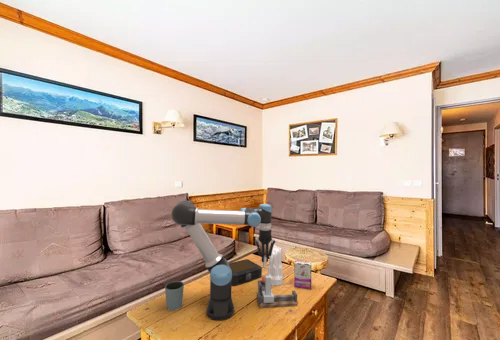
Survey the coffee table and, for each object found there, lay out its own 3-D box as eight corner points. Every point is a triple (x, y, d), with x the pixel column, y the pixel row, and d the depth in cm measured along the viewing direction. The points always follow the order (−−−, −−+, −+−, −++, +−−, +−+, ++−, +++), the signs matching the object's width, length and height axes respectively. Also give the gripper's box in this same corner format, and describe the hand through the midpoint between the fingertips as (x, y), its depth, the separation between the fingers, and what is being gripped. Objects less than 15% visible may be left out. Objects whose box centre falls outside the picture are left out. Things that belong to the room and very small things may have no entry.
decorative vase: (282, 286, 156) (283, 249, 156) (266, 285, 158) (267, 248, 158) (283, 279, 166) (283, 244, 166) (268, 277, 168) (269, 243, 168)
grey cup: (187, 304, 134) (187, 283, 134) (173, 313, 125) (173, 291, 125) (174, 299, 139) (175, 279, 139) (160, 307, 130) (161, 286, 130)
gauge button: (262, 283, 143) (262, 278, 143) (261, 281, 146) (261, 275, 146) (267, 283, 143) (267, 278, 143) (266, 281, 147) (266, 275, 146)
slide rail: (258, 308, 131) (259, 298, 131) (256, 300, 139) (256, 291, 139) (298, 305, 134) (298, 296, 134) (293, 298, 142) (293, 289, 142)
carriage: (263, 303, 132) (264, 279, 132) (261, 297, 138) (262, 274, 138) (274, 302, 133) (274, 278, 133) (271, 297, 139) (272, 274, 139)
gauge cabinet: (259, 298, 141) (259, 285, 141) (257, 293, 147) (257, 280, 147) (270, 297, 142) (270, 284, 142) (268, 292, 148) (268, 280, 148)
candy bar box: (311, 286, 157) (311, 261, 157) (311, 289, 153) (311, 264, 153) (294, 283, 160) (294, 260, 160) (293, 287, 155) (294, 262, 155)
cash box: (233, 287, 154) (233, 275, 154) (219, 275, 171) (219, 265, 171) (263, 277, 169) (263, 267, 169) (247, 268, 185) (247, 258, 185)
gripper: (255, 231, 140) (255, 270, 140) (276, 230, 142) (276, 269, 142) (254, 227, 148) (253, 265, 148) (274, 227, 149) (273, 264, 149)
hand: (264, 267), depth 145 cm, fingers closed
